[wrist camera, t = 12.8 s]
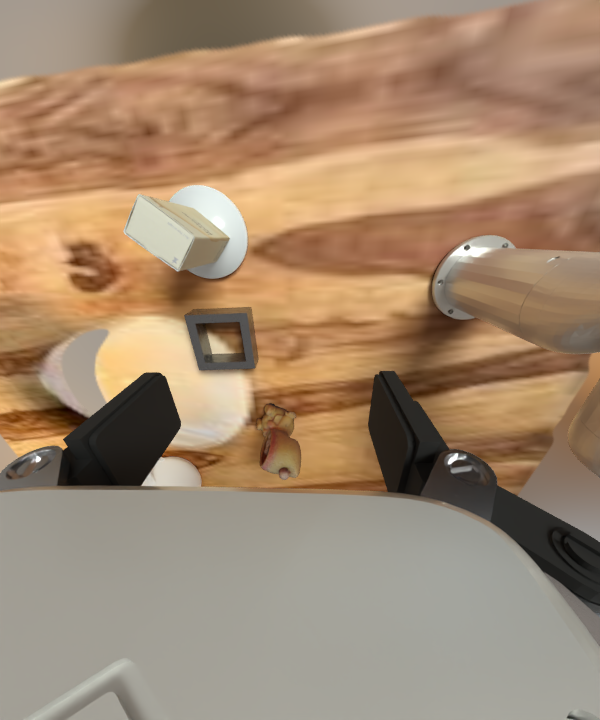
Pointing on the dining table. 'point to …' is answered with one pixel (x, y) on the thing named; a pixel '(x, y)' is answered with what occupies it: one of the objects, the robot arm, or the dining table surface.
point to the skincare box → (175, 233)
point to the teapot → (173, 473)
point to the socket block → (202, 345)
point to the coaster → (225, 219)
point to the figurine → (279, 443)
